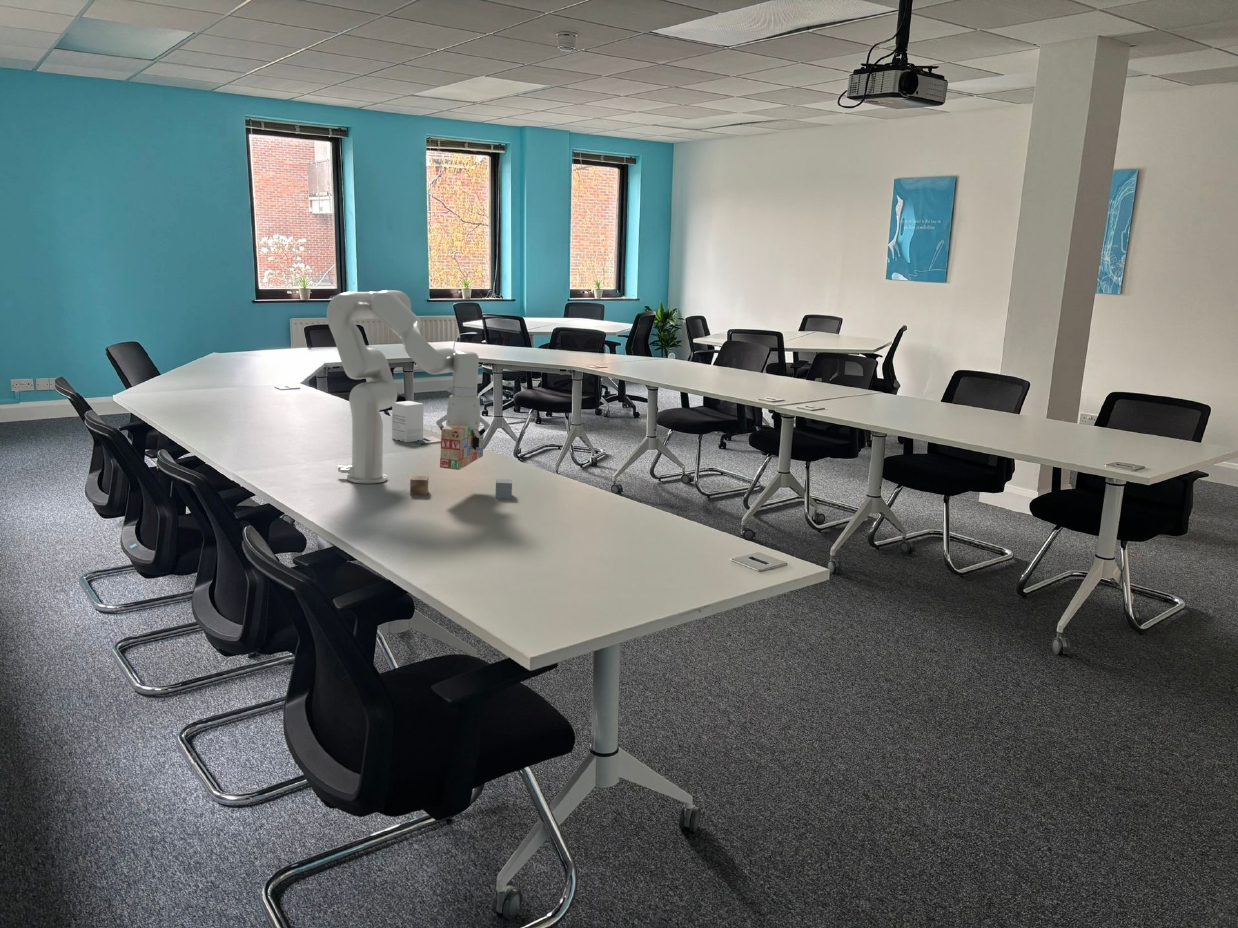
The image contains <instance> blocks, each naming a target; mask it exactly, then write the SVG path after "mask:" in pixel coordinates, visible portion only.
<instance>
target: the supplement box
mask: <svg viewBox="0 0 1238 928" xmlns="http://www.w3.org/2000/svg"><path fill="white" fill-rule="evenodd" d="M391 413H392V414H391V440H394V439H395V440H394V441H398V440H400V441H399V442H402V441H403V443H411V442H418V440H419V441H423V440H424V403H422V402H416V401H413V400H412V401H411V400H405V401H396V402H395V404H394V405H393V406H391Z"/></svg>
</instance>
